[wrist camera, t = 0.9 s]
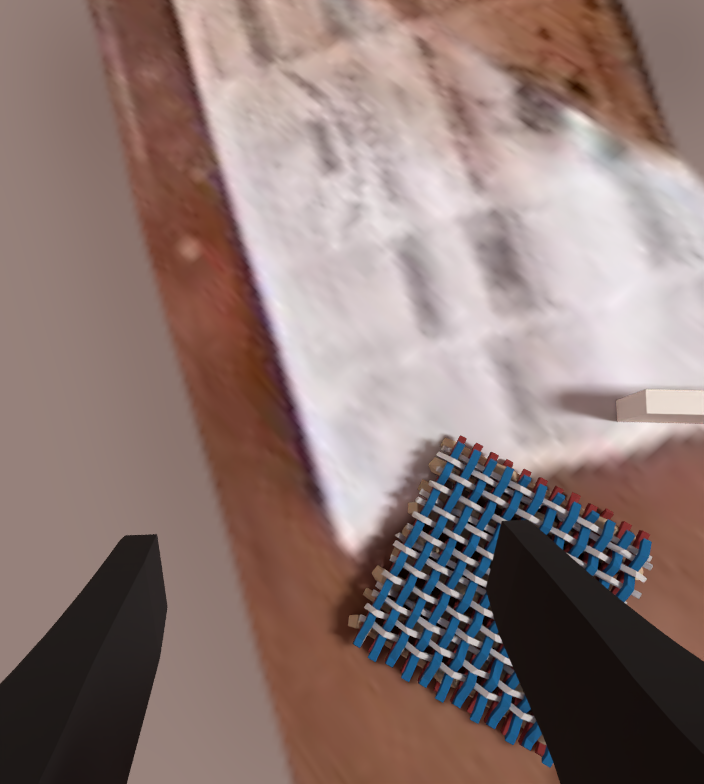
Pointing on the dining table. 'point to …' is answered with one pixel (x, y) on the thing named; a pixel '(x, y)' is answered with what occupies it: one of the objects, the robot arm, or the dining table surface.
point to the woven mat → (482, 581)
